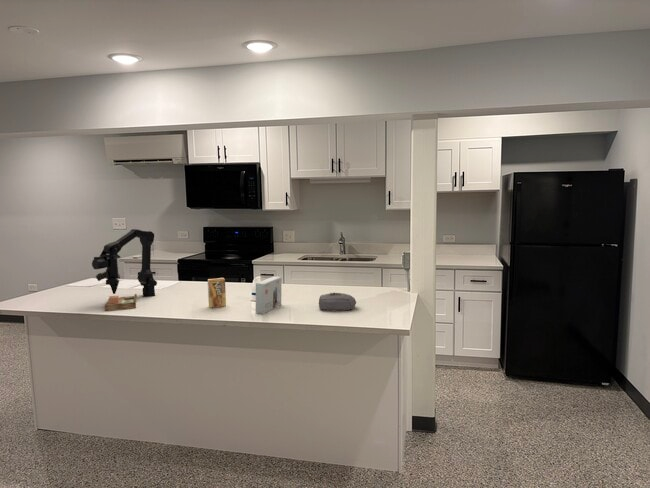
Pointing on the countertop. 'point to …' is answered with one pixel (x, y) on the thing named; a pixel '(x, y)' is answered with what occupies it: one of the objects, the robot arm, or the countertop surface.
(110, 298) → the block
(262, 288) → the skincare box
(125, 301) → the trap board
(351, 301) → the small grey backpack
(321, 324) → the countertop surface
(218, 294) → the candy box
